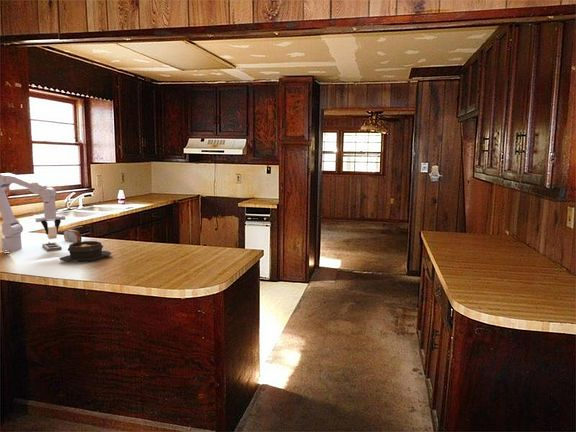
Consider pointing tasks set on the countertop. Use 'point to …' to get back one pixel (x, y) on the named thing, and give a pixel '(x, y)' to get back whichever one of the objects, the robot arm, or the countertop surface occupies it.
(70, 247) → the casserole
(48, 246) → the grey rectangular hollow block
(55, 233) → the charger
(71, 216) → the countertop surface
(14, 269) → the countertop surface
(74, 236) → the tin
